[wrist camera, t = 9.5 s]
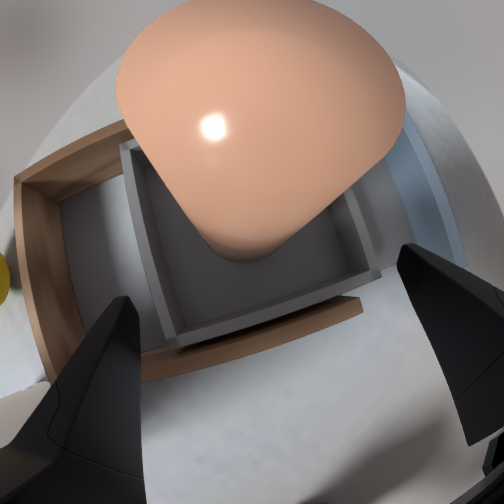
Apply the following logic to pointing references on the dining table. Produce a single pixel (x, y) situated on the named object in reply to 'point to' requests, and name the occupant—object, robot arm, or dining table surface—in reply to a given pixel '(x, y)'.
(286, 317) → the dock
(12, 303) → the dining table surface
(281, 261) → the tray
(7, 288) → the lemon
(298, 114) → the peach tall cylinder
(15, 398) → the bottle
